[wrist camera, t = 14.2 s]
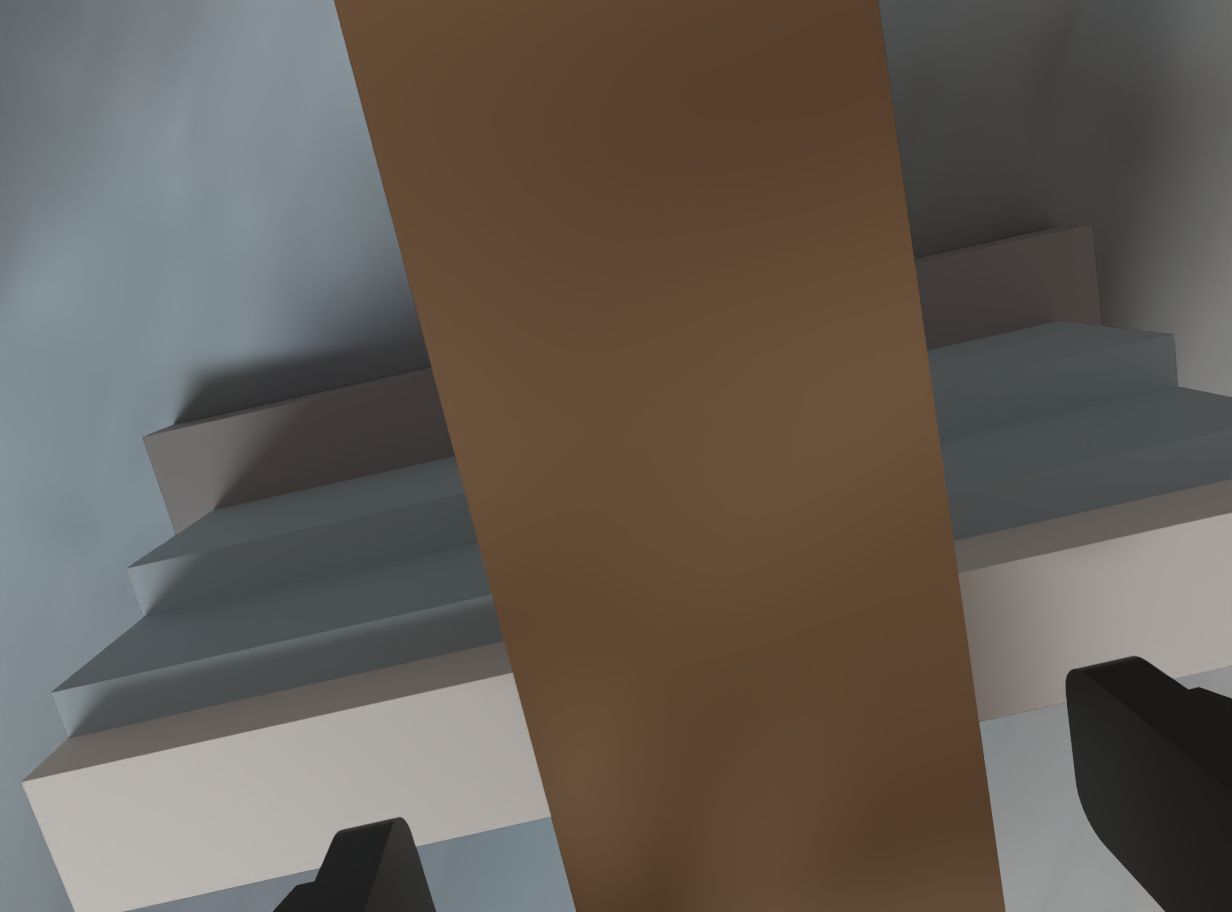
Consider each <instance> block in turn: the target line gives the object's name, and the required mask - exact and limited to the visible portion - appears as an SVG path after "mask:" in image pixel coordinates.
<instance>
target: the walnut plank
mask: <svg viewBox="0 0 1232 912" xmlns="http://www.w3.org/2000/svg"><path fill="white" fill-rule="evenodd" d="M334 3H335V6H336V10H337V14H338V18H339V21H340V25H341V29H342V33H343V36H344V40H345V44H346V48H347V51H348V55H349V59H350V63H351V66H352V70H353V74H354V78H355V82H356V85H357V89H358V93H359V97H360V100H361V104H362V108H363V112H364V115H365V119H366V123H367V127H368V130H369V134H370V138H371V142H372V145H373V149H374V153H375V157H376V160H377V164H378V168H379V172H380V175H381V179H382V183H383V187H384V191H385V194H386V198H387V202H388V206H389V209H390V213H391V217H392V221H393V224H394V228H395V232H396V236H397V239H398V243H399V247H400V251H401V254H402V258H403V262H404V266H405V269H406V273H407V277H408V281H409V285H410V288H411V292H412V296H413V300H414V303H415V307H416V311H417V315H418V318H419V322H420V326H421V330H422V333H423V337H424V341H425V345H426V348H427V352H428V356H429V360H430V363H431V367H432V371H433V375H434V379H435V382H436V386H437V390H438V394H439V397H440V401H441V405H442V409H443V412H444V416H445V420H446V424H447V427H448V431H449V435H450V439H451V442H452V446H453V450H454V454H455V457H456V461H457V465H458V469H459V472H460V476H461V480H462V484H463V488H464V491H465V495H466V499H467V503H468V506H469V510H470V514H471V518H472V521H473V525H474V529H475V533H476V536H477V540H478V544H479V548H480V551H481V555H482V559H483V563H484V566H485V570H486V574H487V578H488V582H489V585H490V589H491V593H492V597H493V600H494V604H495V608H496V612H497V615H498V619H499V623H500V627H501V630H502V634H503V638H504V642H505V645H506V649H507V653H508V657H509V660H510V664H511V668H512V672H513V676H514V679H515V683H516V687H517V691H518V694H519V698H520V702H521V706H522V709H523V713H524V717H525V721H526V724H527V728H528V732H529V736H530V739H531V743H532V747H533V751H534V754H535V758H536V762H537V766H538V769H539V773H540V777H541V781H542V785H543V788H544V792H545V796H546V800H547V803H548V807H549V811H550V815H551V818H552V822H553V826H554V830H555V833H556V837H557V841H558V845H559V848H560V852H561V856H562V860H563V863H564V867H565V871H566V875H567V879H568V882H569V886H570V890H571V894H572V897H573V901H574V905H575V909H576V912H1005V904H1004V897H1003V890H1002V883H1001V876H1000V869H999V861H998V854H997V847H996V840H995V833H994V826H993V819H992V811H991V804H990V797H989V790H988V783H987V776H986V769H985V761H984V754H983V747H982V740H981V733H980V726H979V718H978V711H977V704H976V697H975V690H974V683H973V676H972V668H971V661H970V654H969V647H968V640H967V633H966V625H965V618H964V611H963V604H962V597H961V590H960V583H959V575H958V568H957V561H956V554H955V547H954V540H953V533H952V525H951V518H950V511H949V504H948V497H947V490H946V482H945V475H944V468H943V461H942V454H941V447H940V440H939V432H938V425H937V418H936V411H935V404H934V397H933V389H932V382H931V375H930V368H929V361H928V354H927V347H926V339H925V332H924V325H923V318H922V311H921V304H920V297H919V289H918V282H917V275H916V268H915V261H914V254H913V246H912V239H911V232H910V225H909V218H908V211H907V204H906V196H905V189H904V182H903V175H902V168H901V161H900V154H899V146H898V139H897V132H896V125H895V118H894V111H893V103H892V96H891V89H890V82H889V75H888V68H887V61H886V53H885V46H884V39H883V32H882V25H881V18H880V10H879V3H878V0H334Z"/></svg>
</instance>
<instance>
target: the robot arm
mask: <svg viewBox="0 0 1232 912" xmlns="http://www.w3.org/2000/svg"><path fill="white" fill-rule="evenodd" d="M1065 690H1066V700H1067V709H1068V717H1069V726H1070V735H1071V743H1072V752H1073V761H1074V769H1075V778H1076V785H1077V791H1078V795H1079V798H1080V801H1081V804H1082V807H1083V810H1084V812H1085V814H1086V816H1087V819H1088V821H1089V823H1090V824H1091V826H1092V828H1093V830H1094V831H1095V833H1096V834H1097V836H1098V837H1099V839H1100V840H1101V841H1102V842H1103V844H1104V845H1105V846H1106V847H1107V848H1108V849H1109V850H1110V851H1111V852H1112V854H1113V855H1114V856H1115V857H1116V858H1117V859H1118V860H1119V861H1120V862H1121V863H1122V865H1123V866H1124V867H1125V868H1126V869H1127V870H1128V871H1129V872H1130V873H1131V874H1132V876H1133V877H1134V878H1135V879H1136V880H1137V881H1138V882H1139V883H1140V884H1141V885H1142V887H1143V888H1144V889H1145V890H1146V891H1147V892H1148V893H1149V894H1150V895H1151V896H1152V897H1153V899H1154V900H1155V901H1156V902H1157V903H1158V904H1159V905H1160V906H1161V907H1162V908H1163V910H1164V911H1165V912H1232V699H1231V698H1229V697H1226V696H1223V695H1220V694H1217V693H1214V692H1212V691H1209V690H1206V689H1203V688H1200V687H1198V688H1193V689H1189V690H1188V689H1187V688H1185V687H1184V686H1182V685H1181V684H1180V683H1178V682H1177V681H1175V680H1174V679H1172V678H1171V677H1169V676H1168V675H1167V674H1165V673H1164V672H1162V671H1161V670H1159V669H1158V668H1156V667H1155V666H1154V665H1152V664H1151V663H1149V662H1148V661H1146V660H1145V659H1143V658H1141V657H1138V656H1130V657H1125V658H1121V659H1116V660H1112V661H1107V662H1103V663H1098V664H1094V665H1089V666H1085V667H1080V668H1076V669H1072V670H1070V671H1069V672H1068V674H1067V676H1066V682H1065ZM273 912H436V910H435V907H434V904H433V901H432V897H431V894H430V891H429V888H428V884H427V881H426V878H425V875H424V871H423V868H422V865H421V862H420V858H419V855H418V852H417V849H416V845H415V842H414V839H413V836H412V833H411V830H410V828H409V825H408V824H407V822H406V821H405V820H404V818H402V817H397V818H392V819H388V820H383V821H379V822H374V823H370V824H365V825H361V826H356V827H352V828H347V829H343V830H339V831H338V832H337V833H336V834H335V836H334V837H333V839H332V842H331V844H330V846H329V849H328V851H327V853H326V856H325V858H324V860H323V863H322V865H321V868H320V870H319V872H318V875H317V877H316V879H315V881H314V882H310V883H305V884H301V885H296V887H295V888H294V889H293V890H292V891H291V892H290V893H289V894H288V895H287V897H286V898H285V899H284V900H283V901H282V902H281V903H280V904H279V905H278V906H277V908H276V909H275V910H274V911H273Z"/></svg>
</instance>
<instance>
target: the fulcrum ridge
mask: <svg viewBox="0 0 1232 912" xmlns="http://www.w3.org/2000/svg"><path fill="white" fill-rule="evenodd" d="M914 261H915V268H916V275H917V282H918V289H919V297H920V304H921V311H922V318H923V325H924V332H925V339H926V347H927V354H928V361H929V368H930V375H931V382H932V389H933V397H934V404H935V411H936V418H937V425H938V432H939V440H940V447H941V454H942V461H943V468H944V475H945V482H946V490H947V497H948V504H949V511H950V518H951V525H952V533H953V540H954V547H955V554H956V561H957V568H958V575H959V583H960V590H961V597H962V604H963V611H964V618H965V625H966V633H967V640H968V647H969V654H970V661H971V668H972V676H973V683H974V690H975V697H976V704H977V711H978V718H979V722H981V721H985V720H990V719H994V718H999V717H1003V716H1008V715H1012V714H1017V713H1021V712H1026V711H1030V710H1035V709H1039V708H1044V707H1048V706H1053V705H1057V704H1062V703H1066V702H1067V700H1066V690H1065V682H1066V676H1067V674H1068V672H1069V671H1070V670H1072V669H1076V668H1080V667H1085V666H1089V665H1094V664H1098V663H1103V662H1107V661H1112V660H1116V659H1121V658H1125V657H1130V656H1138V657H1141V658H1143V659H1145V660H1146V661H1148V662H1149V663H1151V664H1152V665H1154V666H1155V667H1156V668H1158V669H1159V670H1161V671H1162V672H1164V673H1165V674H1167V675H1168V676H1169V677H1171V678H1172V679H1174V678H1179V677H1183V676H1188V675H1192V674H1197V673H1201V672H1206V671H1210V670H1215V669H1219V668H1224V667H1228V666H1232V397H1228V396H1223V395H1218V394H1213V393H1208V392H1203V391H1198V390H1193V389H1188V388H1183V387H1178V380H1177V367H1176V354H1175V341H1174V334H1167V333H1158V332H1149V331H1141V330H1132V329H1123V328H1114V327H1106V326H1102V318H1101V308H1100V297H1099V287H1098V276H1097V266H1096V255H1095V245H1094V234H1093V224H1085V225H1073V226H1061V227H1054V228H1049V229H1045V230H1041V231H1036V232H1032V233H1027V234H1023V235H1018V236H1014V237H1009V238H1005V239H1000V240H996V241H992V242H987V243H983V244H978V245H974V246H969V247H965V248H960V249H956V250H951V251H947V252H942V253H938V254H934V255H929V256H925V257H920V258H916V259H914ZM143 440H144V443H145V446H146V449H147V452H148V455H149V458H150V461H151V464H152V466H153V469H154V472H155V475H156V478H157V481H158V484H159V487H160V490H161V492H162V495H163V498H164V501H165V504H166V507H167V510H168V513H169V516H170V518H171V521H172V524H173V527H174V530H175V533H176V535H175V536H174V537H172V538H171V539H169V540H168V541H167V542H165V543H164V544H162V545H161V546H159V547H158V548H156V549H155V550H153V551H152V552H150V553H149V554H147V555H146V556H144V557H143V558H141V559H140V560H138V561H137V562H135V563H134V564H132V565H131V566H129V567H128V568H126V570H127V573H128V576H129V578H130V581H131V584H132V587H133V589H134V592H135V595H136V598H137V600H138V603H139V606H140V609H141V612H142V614H143V617H144V618H142V619H141V620H140V621H139V622H138V623H136V624H135V625H134V626H133V627H131V628H130V629H129V630H128V631H126V632H125V633H124V634H123V635H122V636H120V637H119V638H118V639H117V640H115V641H114V642H113V643H112V644H110V645H109V646H108V647H107V648H105V649H104V650H103V651H102V652H101V653H99V654H98V655H97V656H96V657H94V658H93V659H92V660H91V661H89V662H88V663H87V664H86V665H85V666H83V667H82V668H81V669H80V670H78V671H77V672H76V673H75V674H73V675H72V676H71V677H70V678H68V679H67V680H66V681H65V682H64V683H62V684H61V685H60V686H59V687H57V688H56V689H55V690H54V691H52V692H51V696H52V698H53V701H54V703H55V706H56V708H57V711H58V713H59V716H60V718H61V721H62V723H63V726H64V728H65V731H66V733H67V736H68V739H67V740H66V741H65V742H64V743H63V744H62V745H61V746H60V747H59V748H58V749H56V750H55V751H54V752H53V753H52V754H51V755H50V756H49V757H48V758H47V759H46V760H45V761H44V762H42V763H41V764H40V765H39V766H38V767H37V768H36V769H35V770H34V771H33V772H32V773H31V774H30V775H28V776H27V777H26V778H25V779H24V780H23V781H22V782H21V783H22V785H23V788H24V790H25V792H26V795H27V797H28V800H29V802H30V804H31V807H32V809H33V812H34V814H35V817H36V819H37V821H38V824H39V826H40V829H41V831H42V833H43V836H44V838H45V841H46V843H47V846H48V848H49V850H50V853H51V855H52V858H53V860H54V862H55V865H56V867H57V870H58V872H59V875H60V877H61V879H62V882H63V884H64V887H65V889H66V891H67V894H68V896H69V899H70V901H71V904H72V906H73V908H74V911H75V912H124V911H128V910H133V909H138V908H142V907H147V906H151V905H156V904H160V903H165V902H169V901H174V900H178V899H183V898H187V897H192V896H197V895H201V894H206V893H210V892H215V891H219V890H224V889H228V888H233V887H237V886H242V885H246V884H251V883H255V882H260V881H264V880H269V879H273V878H278V877H282V876H287V875H291V874H296V873H300V872H305V871H309V870H314V869H318V868H321V865H322V863H323V860H324V858H325V856H326V853H327V851H328V849H329V846H330V844H331V842H332V839H333V837H334V836H335V834H336V833H337V832H338V831H339V830H343V829H347V828H352V827H356V826H361V825H365V824H370V823H374V822H379V821H383V820H388V819H392V818H397V817H402V818H404V820H405V821H406V822H407V824H408V825H409V828H410V830H411V833H412V836H413V839H414V842H415V845H416V847H417V846H422V845H426V844H431V843H435V842H440V841H444V840H449V839H453V838H458V837H462V836H467V835H471V834H476V833H480V832H485V831H489V830H494V829H498V828H503V827H507V826H512V825H516V824H521V823H525V822H530V821H534V820H539V819H544V818H548V817H551V815H550V811H549V807H548V803H547V800H546V796H545V792H544V788H543V785H542V781H541V777H540V773H539V769H538V766H537V762H536V758H535V754H534V751H533V747H532V743H531V739H530V736H529V732H528V728H527V724H526V721H525V717H524V713H523V709H522V706H521V702H520V698H519V694H518V691H517V687H516V683H515V679H514V676H513V672H512V668H511V664H510V660H509V657H508V653H507V649H506V645H505V642H504V638H503V634H502V630H501V627H500V623H499V619H498V615H497V612H496V608H495V604H494V600H493V597H492V593H491V589H490V585H489V582H488V578H487V574H486V570H485V566H484V563H483V559H482V555H481V551H480V548H479V544H478V540H477V536H476V533H475V529H474V525H473V521H472V518H471V514H470V510H469V506H468V503H467V499H466V495H465V491H464V488H463V484H462V480H461V476H460V472H459V469H458V465H457V461H456V457H455V454H454V450H453V446H452V442H451V439H450V435H449V431H448V427H447V424H446V420H445V416H444V412H443V409H442V405H441V401H440V397H439V394H438V390H437V386H436V382H435V379H434V375H433V371H432V367H430V368H425V369H421V370H416V371H412V372H407V373H403V374H399V375H394V376H390V377H385V378H381V379H376V380H372V381H367V382H363V383H358V384H354V385H349V386H345V387H341V388H336V389H332V390H327V391H323V392H318V393H314V394H309V395H305V396H300V397H296V398H291V399H287V400H283V401H278V402H274V403H269V404H265V405H260V406H256V407H251V408H247V409H242V410H238V411H234V412H229V413H225V414H220V415H216V416H211V417H207V418H202V419H198V420H193V421H189V422H184V423H180V424H176V425H172V426H169V427H167V428H164V429H161V430H159V431H156V432H154V433H151V434H149V435H146V436H144V437H143Z"/></svg>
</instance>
